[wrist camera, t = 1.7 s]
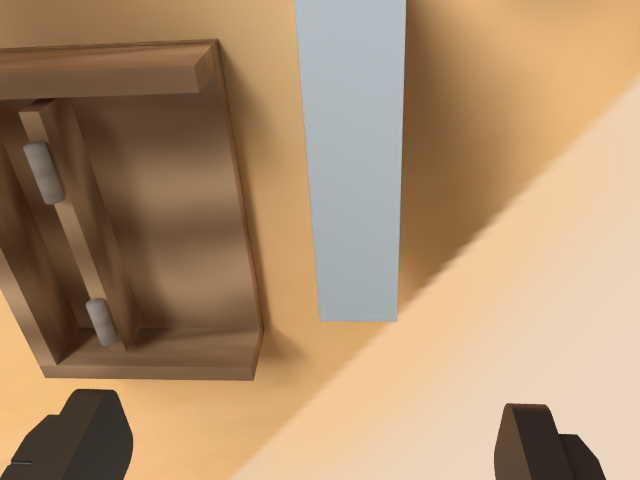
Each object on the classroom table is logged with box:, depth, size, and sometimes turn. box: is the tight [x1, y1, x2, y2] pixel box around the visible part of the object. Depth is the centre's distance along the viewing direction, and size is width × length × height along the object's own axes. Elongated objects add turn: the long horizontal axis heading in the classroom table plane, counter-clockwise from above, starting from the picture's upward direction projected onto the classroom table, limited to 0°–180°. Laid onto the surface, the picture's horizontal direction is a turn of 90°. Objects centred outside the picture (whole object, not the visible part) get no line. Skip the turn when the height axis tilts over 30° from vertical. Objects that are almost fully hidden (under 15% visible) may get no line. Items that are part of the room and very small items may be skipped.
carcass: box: [0, 39, 264, 381], centre depth 31 cm, size 20×14×5 cm
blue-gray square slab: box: [294, 0, 406, 322], centre depth 23 cm, size 12×3×12 cm, turn 3°
